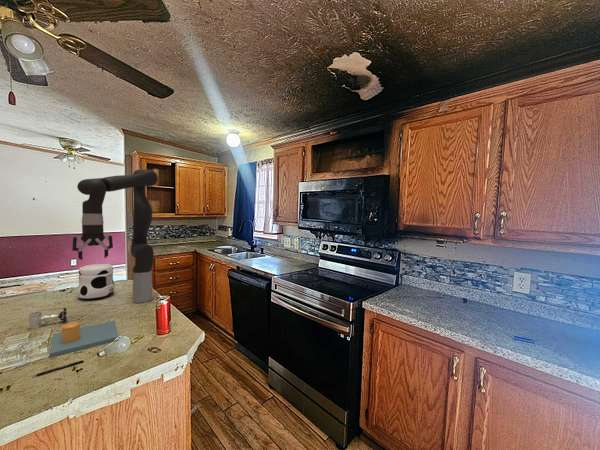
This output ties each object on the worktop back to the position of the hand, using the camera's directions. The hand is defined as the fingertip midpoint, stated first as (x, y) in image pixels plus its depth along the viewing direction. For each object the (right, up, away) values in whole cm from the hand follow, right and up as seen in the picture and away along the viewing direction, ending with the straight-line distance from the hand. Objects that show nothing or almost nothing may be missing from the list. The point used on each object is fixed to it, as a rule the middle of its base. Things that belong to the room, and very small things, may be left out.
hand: (93, 258), depth 116 cm
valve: (-18, -30, -3) cm, 35 cm away
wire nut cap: (+5, -30, -17) cm, 34 cm away
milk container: (-26, -27, +33) cm, 50 cm away
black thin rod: (+15, -33, -32) cm, 48 cm away
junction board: (+8, -31, -13) cm, 35 cm away
